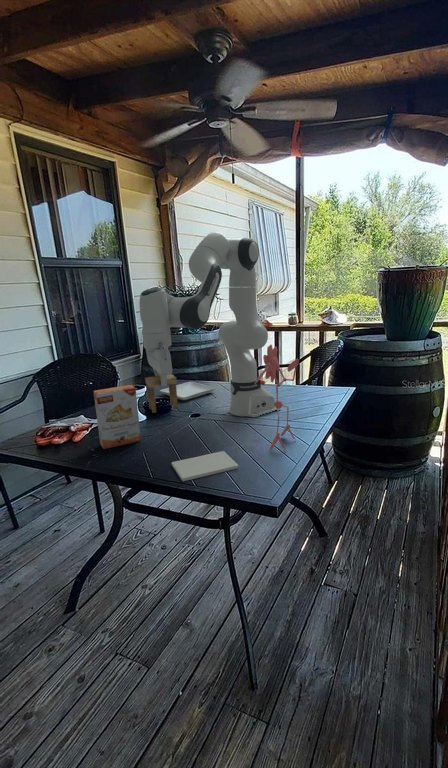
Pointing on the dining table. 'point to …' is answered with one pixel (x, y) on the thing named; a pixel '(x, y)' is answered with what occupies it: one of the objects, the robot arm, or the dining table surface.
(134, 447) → the dining table surface
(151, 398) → the oak stool
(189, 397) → the salad plate
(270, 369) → the pink stick figure
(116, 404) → the cracker box
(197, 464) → the white board
